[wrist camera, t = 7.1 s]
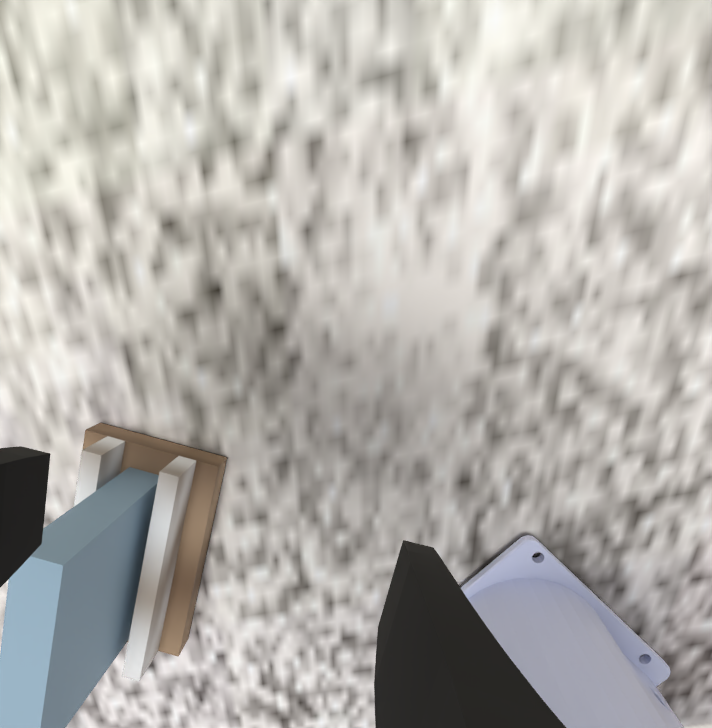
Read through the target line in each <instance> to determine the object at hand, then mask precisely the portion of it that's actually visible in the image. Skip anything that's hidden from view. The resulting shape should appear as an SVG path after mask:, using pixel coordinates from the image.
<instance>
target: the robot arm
mask: <svg viewBox="0 0 712 728" xmlns="http://www.w3.org/2000/svg"><path fill="white" fill-rule="evenodd" d="M49 461H50V454H49V453H45V452H41V451H37V450H33V449H29V448H25V447H10V448H1V449H0V587H1V586H2V585H3V584H4V583H5V582H6V581H7V580H8V579H9V578H10V577H11V576H12V575H13V574H14V573H15V572H16V571H17V570H18V569H19V568H20V567H21V566H22V565H23V564H24V562H25V561H26V560H27V559H28V558H29V557H30V556H31V555H32V554H33V553H34V552H35V551H36V549H37V548H38V547H39V546H40V545H41V544H42V535H43V524H44V514H45V503H46V493H47V482H48V472H49ZM537 552H540V553H541V554H540V556H539V557H536V558H534V557H532V556H533V554H535V553H537ZM643 654H644V655H643ZM641 655H643V656H641ZM640 656H641V657H640ZM670 673H671V671H670V668H669V666H668V665H667V664H666V662H665V661H664V660H663V659H662V658H661V657H660V656H659V655H658V654H657V653H656V652H655V651H654V650H653V649H652V648H651V647H650V646H649V645H648V644H646V643H645V642H644V641H643V640H642V639H641V638H640V637H639V636H638V635H637V634H636V633H635V632H634V631H633V630H632V629H631V628H630V627H629V626H628V625H627V624H625V623H624V622H623V621H622V620H621V619H620V618H619V617H618V616H617V615H616V614H615V613H614V612H613V611H612V610H611V609H610V608H609V607H608V606H607V605H606V604H605V603H603V602H602V601H601V600H600V599H599V598H598V597H597V596H596V595H595V594H594V593H593V592H592V591H591V590H590V589H589V588H588V587H587V586H586V585H585V584H584V583H582V582H581V581H580V580H579V579H578V578H577V577H576V576H575V575H574V574H573V573H572V572H571V571H570V570H569V569H568V568H567V567H566V566H565V565H564V564H563V563H561V562H560V561H559V560H558V559H557V558H556V557H555V556H554V555H553V554H552V553H551V552H550V551H549V550H548V549H547V548H546V547H545V546H544V545H543V544H542V543H540V542H539V541H538V540H537V539H536V538H535V537H533V536H529V535H527V536H523V537H521V538H520V539H518V540H517V541H516V542H515V543H514V544H512V545H511V546H510V547H509V548H508V549H506V550H505V551H504V552H503V553H502V554H500V555H499V556H498V557H497V558H496V559H494V560H493V561H492V562H491V563H490V564H488V565H487V566H486V567H485V568H484V569H482V570H481V571H480V572H479V573H478V574H476V575H475V576H474V577H473V578H472V579H470V580H469V581H468V582H467V583H466V584H464V585H463V586H462V587H461V588H460V587H459V585H458V584H457V582H456V581H455V579H454V578H453V576H452V575H451V573H450V572H449V570H448V568H447V567H446V565H445V564H444V562H443V561H442V559H441V558H440V556H439V555H438V553H437V552H436V551H435V549H434V548H433V547H428V546H424V545H420V544H416V543H412V542H408V541H404V540H403V543H402V546H401V550H400V553H399V557H398V560H397V564H396V567H395V570H394V574H393V577H392V581H391V584H390V588H389V591H388V595H387V598H386V602H385V605H384V609H383V612H382V615H381V619H380V622H379V626H378V636H377V650H376V665H375V682H374V688H375V721H376V728H684V727H683V725H682V724H681V722H680V721H679V719H678V718H677V716H676V715H675V714H674V712H673V711H672V709H671V708H670V706H669V705H668V703H667V702H666V700H665V699H664V697H663V696H662V694H661V693H660V691H659V690H658V689H657V687H656V686H658V685H659V684H661V683H662V682H663V681H665V680H666V679H667V678H668V677H669V676H670Z"/></svg>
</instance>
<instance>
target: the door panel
mask: <svg viewBox="0 0 712 728" xmlns="http://www.w3.org/2000/svg"><path fill="white" fill-rule="evenodd" d="M158 477H159V475H157V474H153V473H149V472H146V471H142V470H138V469H135V468H131V467H129V468H127V469H126V470H125V471H123V472H122V473H120V474H119V475H118V476H116V477H115V478H113V479H112V480H111V481H109V482H108V483H106V484H105V485H104V486H102V487H101V488H99V489H98V490H97V491H95V492H94V493H93V494H91V495H90V496H88V497H87V498H86V499H84V500H83V501H81V502H80V503H79V504H77V505H76V506H74V507H73V508H72V509H70V510H69V511H67V512H66V513H65V514H63V515H62V516H60V517H59V518H58V519H56V520H55V521H53V522H52V523H51V524H49V525H48V526H46V527H45V528H44V529H43V535H42V544H41V545H40V546H39V547H38V548H37V549H36V551H35V552H34V553H33V554H32V555H31V556H30V557H29V558H28V559H27V560H26V561H25V562H24V564H23V565H22V566H21V567H20V568H19V569H18V570H17V571H16V572H15V573H14V574H13V575H12V576H11V577H10V578H9V583H8V592H7V600H6V609H5V618H4V627H3V636H2V644H1V653H0V728H65V727H66V726H67V725H68V723H69V722H70V720H71V719H72V718H73V716H74V715H75V713H76V712H77V711H78V709H79V708H80V706H81V705H82V704H83V702H84V701H85V699H86V698H87V697H88V695H89V694H90V693H91V691H92V690H93V688H94V687H95V686H96V684H97V683H98V681H99V680H100V679H101V677H102V676H103V674H104V673H105V672H106V670H107V669H108V667H109V666H110V665H111V663H112V662H113V661H114V659H115V658H116V656H117V655H118V654H119V652H120V651H121V649H122V648H123V647H124V645H125V644H126V642H127V641H128V640H129V635H130V630H131V624H132V619H133V614H134V608H135V603H136V597H137V592H138V586H139V581H140V575H141V570H142V565H143V559H144V554H145V548H146V543H147V537H148V532H149V526H150V521H151V516H152V510H153V505H154V499H155V494H156V488H157V483H158Z"/></svg>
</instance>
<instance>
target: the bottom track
mask: <svg viewBox="0 0 712 728" xmlns="http://www.w3.org/2000/svg"><path fill="white" fill-rule="evenodd" d="M226 461H227V457H224V456H220V455H216V454H213V453H209V452H205V451H202V450H198V449H194V448H191V447H187V446H183V445H180V444H176V443H173V442H169V441H165V440H162V439H158V438H154V437H151V436H147V435H143V434H140V433H136V432H132V431H129V430H125V429H122V428H118V427H114V426H111V425H107V424H103V423H99V424H97V425H95V426H93V427H91V428H89V429H87V430H85V437H84V444H83V450H82V453H81V460H80V467H79V474H78V481H77V488H76V495H75V502H74V506H76V505H77V504H79V503H80V502H81V501H83V500H84V499H86V498H87V497H88V496H90V495H91V494H93V493H94V492H95V491H97V490H98V489H99V488H101V487H102V486H104V485H105V484H106V483H108V482H109V481H111V480H112V479H113V478H115V477H116V476H118V475H119V474H120V473H122V472H123V471H125V470H126V469H127V468H129V467H131V468H135V469H138V470H142V471H146V472H149V473H153V474H157V475H159V477H158V483H157V488H156V494H155V499H154V505H153V510H152V516H151V521H150V526H149V532H148V537H147V543H146V548H145V554H144V559H143V565H142V570H141V575H140V581H139V586H138V592H137V597H136V603H135V608H134V614H133V619H132V624H131V630H130V635H129V640H128V641H127V642H128V646H127V652H126V657H125V663H124V668H123V673H122V677H125V678H129V679H133V680H136V681H140V680H141V678H142V676H143V675H144V673H145V672H146V670H147V668H148V667H149V665H150V663H151V662H152V660H153V659H154V657H155V655H156V654H157V652H158V651H161V652H164V653H168V654H172V655H175V656H179V655H180V653H181V651H182V649H183V647H184V645H185V644H186V642H187V640H188V637H189V632H190V627H191V623H192V618H193V613H194V609H195V604H196V600H197V595H198V590H199V586H200V581H201V576H202V572H203V567H204V562H205V558H206V553H207V549H208V544H209V539H210V535H211V530H212V525H213V521H214V516H215V512H216V507H217V502H218V498H219V493H220V488H221V484H222V479H223V475H224V470H225V465H226Z"/></svg>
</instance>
